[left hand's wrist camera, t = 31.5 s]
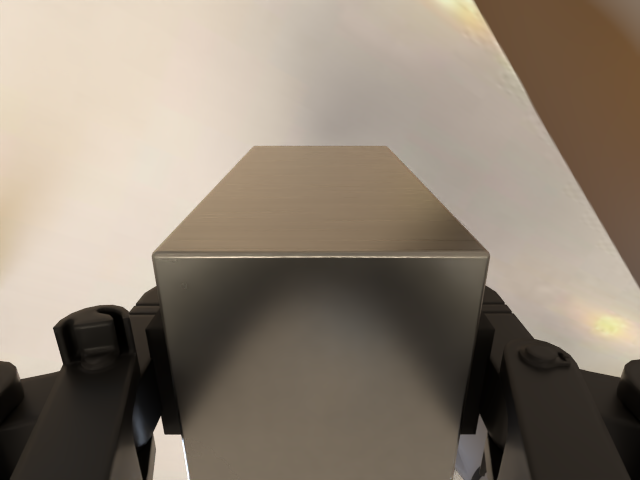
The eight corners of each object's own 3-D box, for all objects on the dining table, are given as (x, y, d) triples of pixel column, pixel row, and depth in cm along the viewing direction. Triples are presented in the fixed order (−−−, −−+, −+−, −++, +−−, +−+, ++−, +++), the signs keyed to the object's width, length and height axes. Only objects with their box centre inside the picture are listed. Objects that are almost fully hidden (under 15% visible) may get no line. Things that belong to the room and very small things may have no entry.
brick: (252, 145, 16) (149, 253, 6) (387, 145, 16) (493, 253, 6) (261, 292, 19) (196, 536, 9) (378, 292, 19) (444, 536, 9)
